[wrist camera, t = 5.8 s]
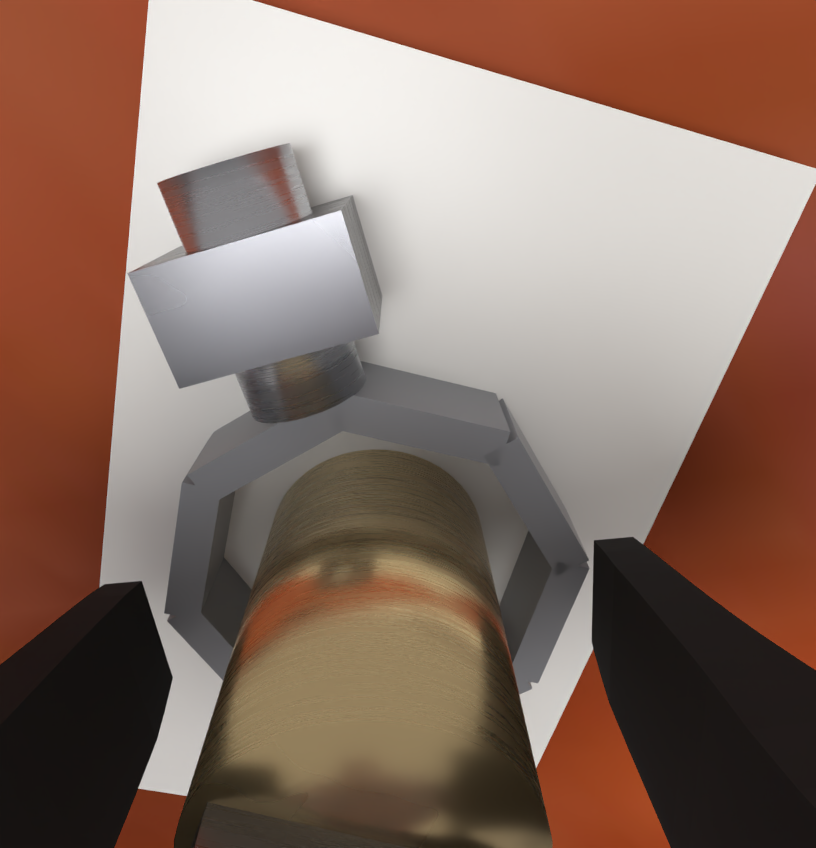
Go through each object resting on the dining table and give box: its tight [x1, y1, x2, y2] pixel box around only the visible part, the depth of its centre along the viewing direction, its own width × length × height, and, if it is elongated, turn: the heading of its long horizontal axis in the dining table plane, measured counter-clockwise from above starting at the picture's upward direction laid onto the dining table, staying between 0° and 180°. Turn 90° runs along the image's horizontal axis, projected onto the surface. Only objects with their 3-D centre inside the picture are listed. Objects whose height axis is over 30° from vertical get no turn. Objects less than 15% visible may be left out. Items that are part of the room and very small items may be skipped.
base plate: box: [99, 0, 816, 796], centre depth 12 cm, size 16×10×3 cm, turn 166°
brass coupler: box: [174, 449, 552, 848], centre depth 9 cm, size 4×4×7 cm
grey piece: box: [127, 143, 382, 423], centre depth 9 cm, size 3×3×2 cm
